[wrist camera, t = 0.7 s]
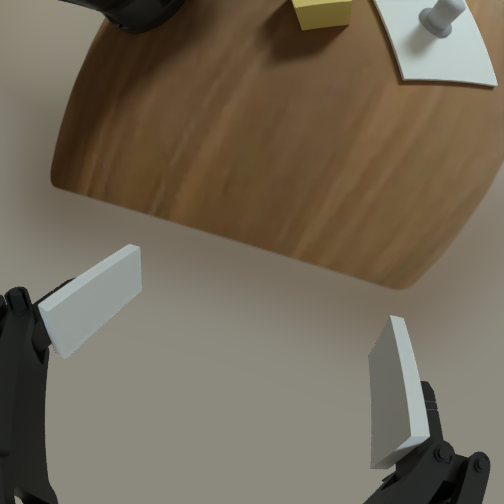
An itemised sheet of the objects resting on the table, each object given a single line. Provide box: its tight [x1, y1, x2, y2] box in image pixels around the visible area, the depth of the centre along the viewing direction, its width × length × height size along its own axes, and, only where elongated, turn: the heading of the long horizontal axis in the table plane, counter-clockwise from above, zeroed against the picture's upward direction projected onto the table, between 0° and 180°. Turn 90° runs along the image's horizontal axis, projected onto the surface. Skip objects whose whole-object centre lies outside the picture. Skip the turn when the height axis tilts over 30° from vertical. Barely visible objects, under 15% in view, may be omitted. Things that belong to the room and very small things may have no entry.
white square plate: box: [373, 0, 498, 87], centre depth 16 cm, size 18×16×9 cm
